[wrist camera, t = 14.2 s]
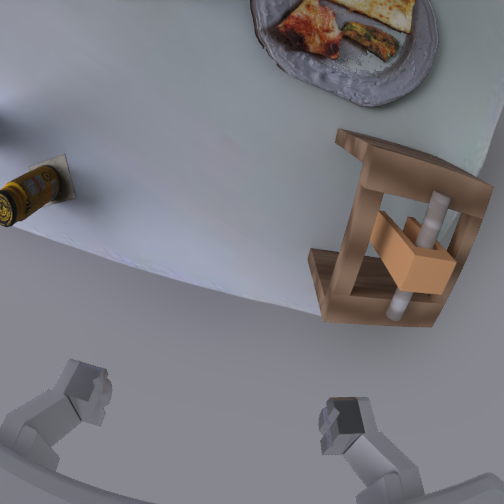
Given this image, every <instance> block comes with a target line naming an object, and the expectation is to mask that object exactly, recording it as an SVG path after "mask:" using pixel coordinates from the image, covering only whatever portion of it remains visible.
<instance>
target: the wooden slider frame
mask: <svg viewBox="0 0 504 504" xmlns="http://www.w3.org/2000/svg"><path fill="white" fill-rule="evenodd" d="M335 143H336V144H338V145H339V146H341V147H342V148H344V149H345V150H346V151H348V152H349V153H351V154H352V155H353V156H355V157H356V158H358V159H359V160H360V161H362V162H363V168H362V172H361V176H360V180H359V184H358V188H357V192H356V195H355V199H354V203H353V207H352V210H351V214H350V218H349V221H348V225H347V228H346V232H345V235H344V239H343V242H342V245H341V249H340V252H334V251H327V250H320V249H312V248H311V249H310V253H309V256H308V263H309V267H310V271H311V275H312V278H313V282H314V286H315V290H316V294H317V298H318V303H319V307H320V311H321V315H322V319H323V322H335V323H349V324H365V325H383V326H403V327H432V326H433V324H434V323H435V321H436V319H437V317H438V316H439V314H440V312H441V310H442V308H443V306H444V305H445V302H446V301H447V299H448V297H449V295H450V293H451V291H452V289H453V287H454V285H455V283H456V281H457V279H458V277H459V275H460V272H461V270H462V268H463V266H464V264H465V261H466V259H467V257H468V255H469V252H470V250H471V248H472V245H473V243H474V241H475V238H476V236H477V233H478V230H479V228H480V225H481V223H482V220H483V217H484V214H485V211H486V209H487V206H488V203H489V200H490V197H491V194H492V191H493V188H494V187H493V186H491V185H489V184H488V183H486V182H484V181H482V180H481V179H479V178H477V177H475V176H473V175H472V174H470V173H468V172H466V171H464V170H462V169H460V168H458V167H456V166H454V165H452V164H450V163H448V162H446V161H444V160H442V159H440V158H438V157H436V156H433V155H430V154H427V153H424V152H421V151H418V150H415V149H412V148H409V147H406V146H402V145H399V144H396V143H392V142H389V141H385V140H382V139H378V138H375V137H371V136H367V135H363V134H359V133H355V132H351V131H347V130H343V129H338V131H337V136H336V141H335ZM384 193H388V194H392V195H397V196H401V197H405V198H409V199H413V200H417V201H421V202H425V203H429V206H428V209H427V212H426V215H425V218H424V221H423V223H422V226H421V229H420V232H419V235H418V237H417V240H416V243H415V245H414V246H416V247H422V248H427V249H433V247H434V244H435V242H436V239H437V236H438V234H439V231H440V228H441V226H442V223H443V220H444V217H445V214H446V212H447V209H451V210H454V211H458V212H461V215H460V218H459V221H458V224H457V226H456V229H455V232H454V234H453V237H452V239H451V242H450V245H449V247H448V249H447V252H448V253H449V254H450V255H451V256H452V257H453V259H454V260H455V261H456V262H457V263H456V265H455V267H454V270H453V272H452V274H451V276H450V278H449V280H448V282H447V284H446V286H445V289H444V291H443V293H442V295H438V294H425V293H418V292H408V291H400V290H399V288H398V286H397V284H396V283H395V281H394V279H393V278H392V276H391V274H390V273H389V271H388V269H387V268H386V266H385V264H384V263H383V261H382V260H381V258H376V257H369V256H364V255H365V252H366V249H367V246H368V243H369V240H370V237H371V234H372V231H373V227H374V224H375V221H376V218H377V215H378V211H379V208H380V205H381V201H382V198H383V194H384Z"/></svg>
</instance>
